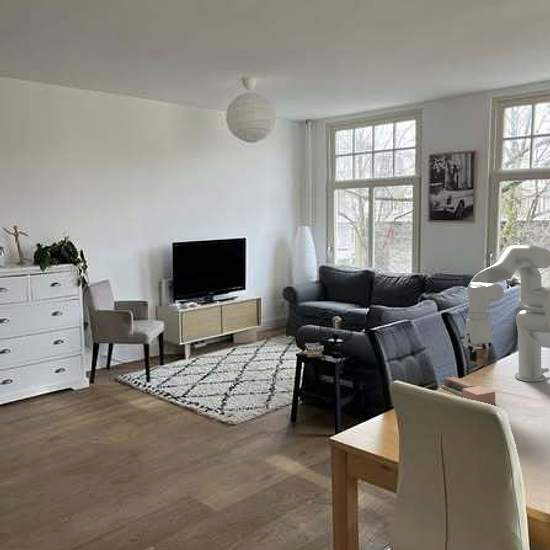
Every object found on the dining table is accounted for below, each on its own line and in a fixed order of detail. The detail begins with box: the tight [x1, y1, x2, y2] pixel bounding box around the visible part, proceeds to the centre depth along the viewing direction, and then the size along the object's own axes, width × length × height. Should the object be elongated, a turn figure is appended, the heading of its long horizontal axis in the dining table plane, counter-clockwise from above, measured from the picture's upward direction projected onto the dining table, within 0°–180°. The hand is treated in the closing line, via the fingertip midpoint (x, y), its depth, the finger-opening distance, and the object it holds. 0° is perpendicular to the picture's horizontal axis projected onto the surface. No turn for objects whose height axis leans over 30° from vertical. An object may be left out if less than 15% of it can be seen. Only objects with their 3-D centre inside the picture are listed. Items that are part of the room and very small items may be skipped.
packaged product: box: [440, 376, 478, 397], centre depth 239 cm, size 18×5×10 cm
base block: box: [461, 385, 496, 405], centre depth 224 cm, size 9×9×5 cm
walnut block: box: [469, 346, 489, 366], centre depth 223 cm, size 5×5×6 cm
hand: (478, 359), depth 223 cm, fingers closed on walnut block, 5 cm apart
